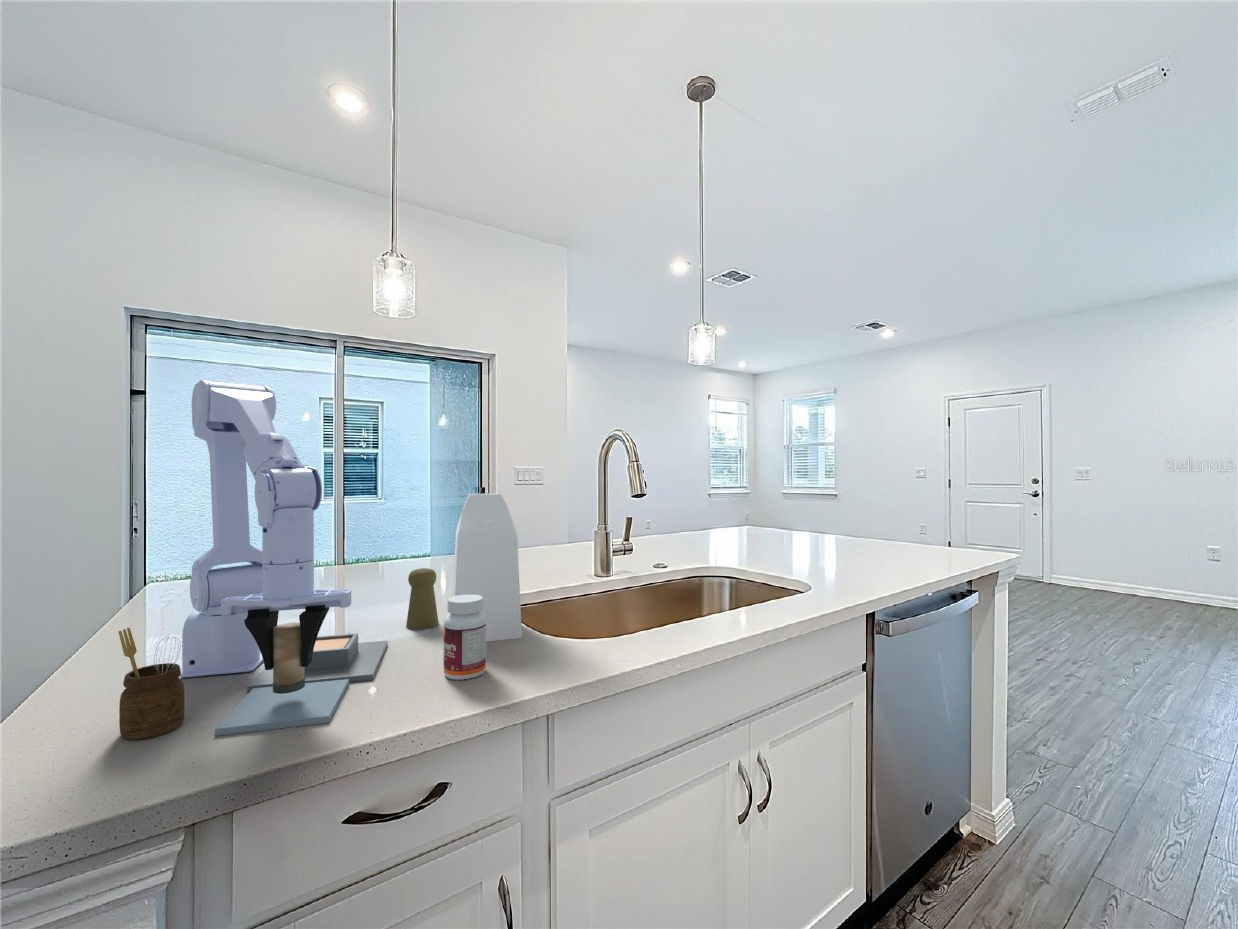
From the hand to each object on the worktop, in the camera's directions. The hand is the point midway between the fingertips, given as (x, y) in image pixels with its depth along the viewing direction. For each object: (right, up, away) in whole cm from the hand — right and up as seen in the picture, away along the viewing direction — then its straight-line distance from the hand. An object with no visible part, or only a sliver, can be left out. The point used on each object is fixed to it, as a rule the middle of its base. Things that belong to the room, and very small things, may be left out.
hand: (288, 665), depth 71 cm
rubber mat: (0, -5, 0) cm, 5 cm away
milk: (+18, -6, +32) cm, 37 cm away
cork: (+4, -6, +37) cm, 37 cm away
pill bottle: (+20, -6, +12) cm, 24 cm away
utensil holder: (-13, -6, -6) cm, 15 cm away
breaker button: (-3, -4, +15) cm, 16 cm away
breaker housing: (-3, -5, +15) cm, 16 cm away
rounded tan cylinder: (0, -3, 0) cm, 3 cm away
